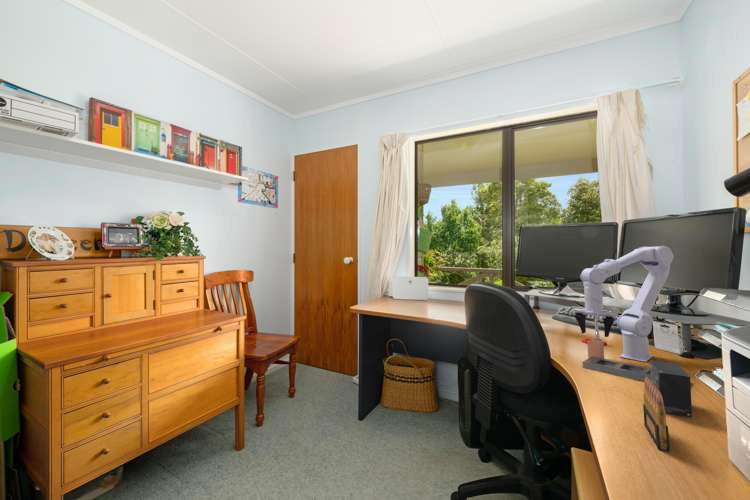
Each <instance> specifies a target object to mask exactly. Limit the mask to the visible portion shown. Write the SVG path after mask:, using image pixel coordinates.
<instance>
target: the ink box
mask: <svg viewBox="0 0 750 500" xmlns="http://www.w3.org/2000/svg"><path fill="white" fill-rule="evenodd" d="M664 325H665V327H664ZM666 326H667V327H666ZM652 329H653V338H654V339H653V341H654V348H655V349H657V350H661V351H665V352H668V353H669V352H670V353H674V354H676V355H677V354H678V355H681V354H680V353H681V352H682V351H683V348H684V349H685V345H684V346H683V343H684V340H683V339H682V338H681V336H680V335H679V325H677V324H673V323H666V322H660V321H655V320H653V322H652ZM684 344H685V343H684Z"/></svg>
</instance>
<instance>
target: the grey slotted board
mask: <svg viewBox="0 0 750 500" xmlns="http://www.w3.org/2000/svg"><path fill="white" fill-rule="evenodd" d="M581 364H582V368H583V369H588V370H591V371H597V372H601V373H605V374H610V375H613V376H619V377H623V378H626V379H633V380H635V381H640V382H643V383H644V382H645V378H646V376H647V377H648V378H649V379H650V380H651V371H650V367H647V366H644V365H643V366H642V365H637V364H633V363H627V362H622V361H617V360H612V359H608V358H604V359H603V358H598V357H593V356H592V357H590V358H588V357H587V359H584V360H583V361H582V363H581Z"/></svg>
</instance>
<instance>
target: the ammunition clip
mask: <svg viewBox="0 0 750 500" xmlns="http://www.w3.org/2000/svg"><path fill="white" fill-rule="evenodd" d="M643 383H644V384H643V385H644V386H643V387H644V390H643V403H642V404H643V405H642V406H643V410H642V411H643V422H644V424H643V425H644V427H645V429H646V431H647V433H648V432H649V433H648V435H649V436H650V438H651V440H652V439H653V440H652V442H653V443H654V444H656V445H655V447H656V446H657V447H656V448H657V450H658V451H663V452H667V453H668V452H669V453H671V449H670V447H671V446H670V437H669V435H670V434H669V426H668V424H667V413H665V410H664V403H663V398H662V395H661V393H660V391H658V389H657V388H656V387H655V385H653V383H652V382H651V380H650V379H649V378H648V377H647V376H646V378H645V382H644V381H643Z"/></svg>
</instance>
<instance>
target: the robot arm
mask: <svg viewBox="0 0 750 500" xmlns="http://www.w3.org/2000/svg"><path fill="white" fill-rule="evenodd" d="M674 258H675V255H674V253H673V251H672V249H671V248H670V247H669V246H666V245H660V246H659V245H658V246H640V247H639V248H635V249H633V251H630V252H629V253H627V254H625V255H623V256H621V257H619V258H617V259H612V258H611V259H610V258H605V259H604V260H603V262H601V263H598V264H594V265H593V266H592V267H590V268H589V267H588V268H584V269H583V270H582V272H581V273H580V275H579V278H580V280H581V281H582V283H583V284H582V285H583V286H584V287H583V288H584V289H583V291H584V295H583V296H584V308H576V307H575V308H572V314H574V315H573V316H574V318H575V320H576V322H577V323H578V326H579V328H580V332H581V334H586V333H587V331H586V330H587V328H586V320H587V316H593V317H595V316H597V317H600V318H601V317H602V321H603V327H604V337H605V338H608V337H609V336H610V331H611V329H612V326H613V324H614V323H615V320H616V326H617V328H618V329H619V330H620V332H621V336H622V339H621V340H622V352H623V353H622V354H620V355H619V358H623V359H627V360H632V361H633V360H634V361H638V362H644V363H646V362H649V361H650V360H651V359H652V357H653V354H650V347H649V346H650V345H649V338H648V336H649V335H650V333H651V331H652V329H653V321H654V319H653V317H652V316H651V315H650V312H651V311H652V309H653V306H654V304H655V303H656V301H657V299H658V297H659V294H660V293H661V291H662V289H663V287H664V285H665V283H666V281H667V279H668V277H669V275H670V269H671V264H672V262H673V260H674ZM637 262H639V263H640V264H641V265H642V266H643V268H645V269H646V270H647V271H648V273H647V276H646V277H645V280H644V282H643V284H642V286H641V288H640V289H639V292H638V294H637V296H636V297H635V299H634V301H633V303H632V305H631V307H629V308H627V309H625V310H624V311H623V313H622V314H621V315H619V313H618V312H614V311H607V310H604V300H603V297H604V295H603V283H604V282H605V281H606V279H607V278H610V277H612V276H614V275H617V274H619V273H620V272H621V270H622V268H624V267H627V266H629V265H632V264H634V263H637Z"/></svg>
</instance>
